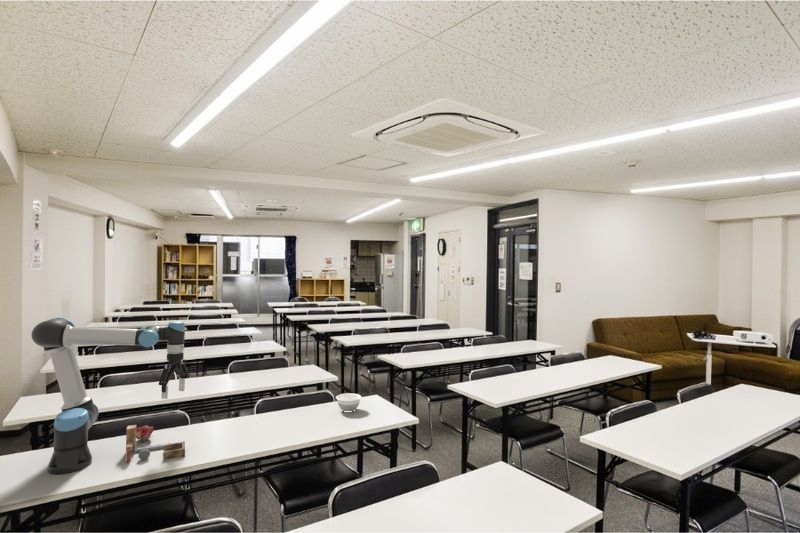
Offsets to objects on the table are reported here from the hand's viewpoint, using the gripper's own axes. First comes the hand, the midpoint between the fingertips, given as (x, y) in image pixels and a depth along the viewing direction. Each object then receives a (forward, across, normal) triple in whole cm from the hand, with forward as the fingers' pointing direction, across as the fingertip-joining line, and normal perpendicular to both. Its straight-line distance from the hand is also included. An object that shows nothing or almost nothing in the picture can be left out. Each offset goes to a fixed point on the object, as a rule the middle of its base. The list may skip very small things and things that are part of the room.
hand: (173, 394), depth 209 cm
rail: (+24, -10, +4) cm, 26 cm away
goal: (+24, -13, -10) cm, 29 cm away
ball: (+22, -20, 0) cm, 29 cm away
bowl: (+22, +58, -78) cm, 100 cm away
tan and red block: (+23, -18, +8) cm, 31 cm away
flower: (+24, 0, +15) cm, 28 cm away
